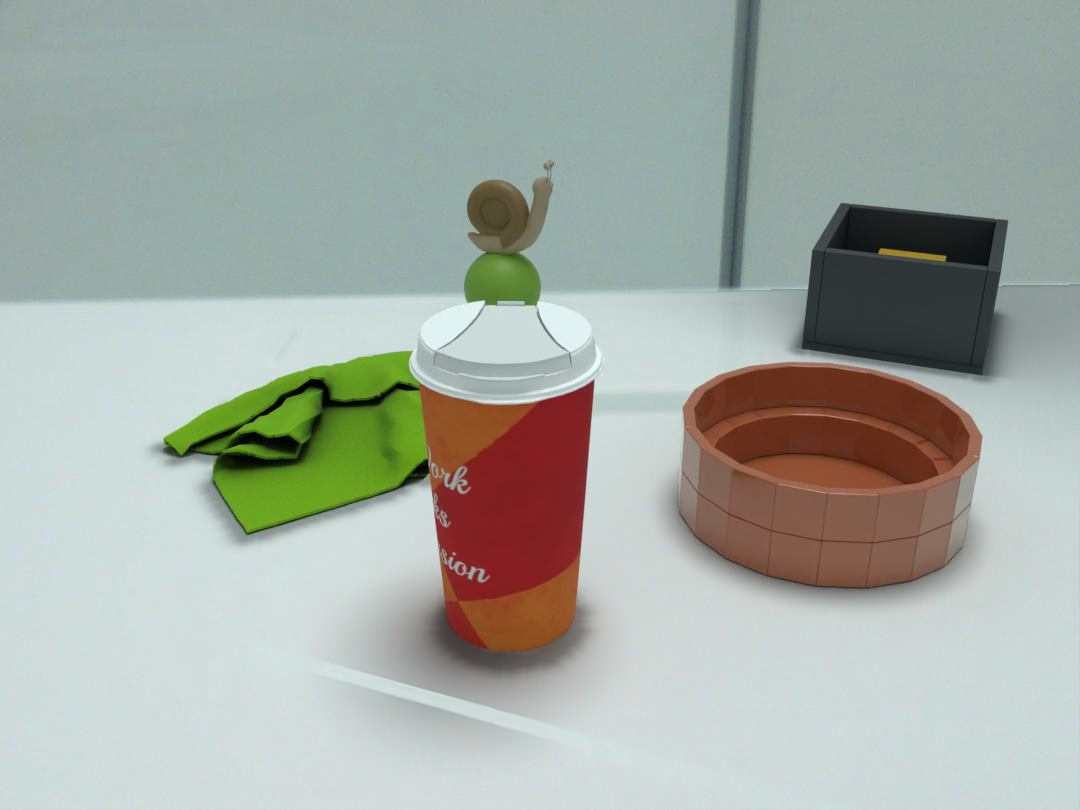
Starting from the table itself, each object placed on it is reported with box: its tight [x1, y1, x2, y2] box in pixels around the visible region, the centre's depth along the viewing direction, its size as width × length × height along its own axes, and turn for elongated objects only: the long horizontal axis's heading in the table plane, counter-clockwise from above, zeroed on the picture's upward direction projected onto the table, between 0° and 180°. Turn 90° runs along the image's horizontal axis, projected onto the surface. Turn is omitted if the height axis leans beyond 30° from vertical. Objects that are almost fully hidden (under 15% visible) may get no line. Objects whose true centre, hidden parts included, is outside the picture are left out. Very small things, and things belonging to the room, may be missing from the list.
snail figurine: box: [463, 159, 555, 308], centre depth 80 cm, size 5×6×12 cm
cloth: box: [163, 350, 430, 534], centre depth 67 cm, size 20×22×2 cm
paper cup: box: [409, 300, 605, 652], centre depth 48 cm, size 8×8×14 cm
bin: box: [801, 202, 1009, 376], centre depth 80 cm, size 12×12×7 cm
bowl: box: [677, 361, 984, 588], centre depth 58 cm, size 14×14×6 cm
